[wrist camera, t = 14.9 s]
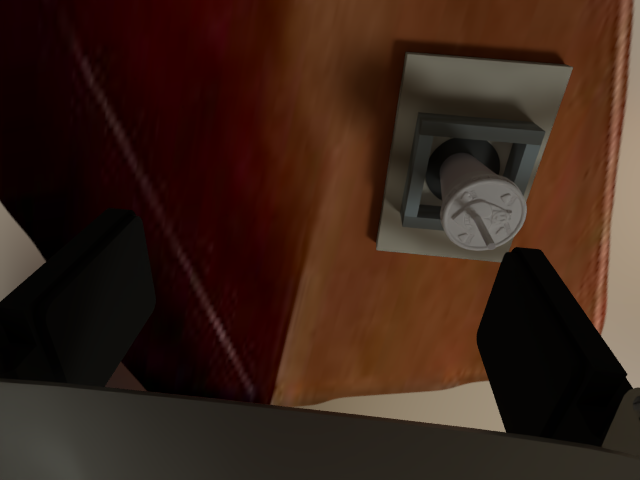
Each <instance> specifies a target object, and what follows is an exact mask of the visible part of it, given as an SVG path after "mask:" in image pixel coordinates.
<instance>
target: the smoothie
mask: <svg viewBox="0 0 640 480" xmlns="http://www.w3.org/2000/svg"><path fill="white" fill-rule="evenodd" d="M440 182H441V193H442V206H441V211H440V219H441V224H442V227H443V229H444V231H445V233H446V235H447V236H448V238H449V239H450V240H451V241H452V242H453V243H455V244H456V245H458V246H460V247H462V248H464V249H468V250H474V251H482V250H493V249H495V248H496V247H498V246H501V245H503V244H504V243H506V242H508V241H509V240H510V239H512V238H513V237H514V236H515V235H516V234H517V233H518V231H519V230H520V229H521V227H522V225H523V223H524V221H525V218H526V212H527V207H526V201H525V199H524V196H523V195H522V193H521V191H520V189H519V188H518V187H517V185H516V184H515V183H514V182H512V181H511V180H509V179H508V178H506V177H503V176H500V175H497V174H495V173H494V172H493V171H491V170H490V169H489V168H487V167H486V166H485V165H484V164H482V163H481V162H480V161H478V160H477V159H476V158H475V157H473V156H472V155H470V154H467V153H456V154H453V155H451V156H449V157H448V158H447V159H446V160H445V161H444V162H443V164H442V165H441V168H440Z"/></svg>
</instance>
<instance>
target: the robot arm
mask: <svg viewBox="0 0 640 480" xmlns="http://www.w3.org/2000/svg"><path fill="white" fill-rule="evenodd" d="M155 302H156V297H155V291H154V286H153V280H152V274H151V268H150V263H149V257H148V251H147V245H146V240H145V234H144V228H143V223H142V219H141V218H140V217H139V216H136V214H135V213H134V212H133V211H132V210H124V209H114V208H108V209H107V210H105V211H104V212H103V213H102V214H101V215H100V216H98V217H97V218H96V219H95V220H94V221H93V222H91V223H90V224H89V225H88V226H87V227H86V228H85V229H83V230H82V231H81V232H80V233H79V234H78V235H77V236H75V237H74V238H73V239H72V240H71V241H70V242H69V243H67V244H66V245H65V246H64V247H63V248H62V249H60V250H59V251H58V252H57V253H56V254H55V255H54V256H52V257H51V258H50V259H49V260H48V261H47V262H46V263H44V264H43V265H42V266H41V267H40V268H39V269H38V270H36V271H35V272H34V273H33V274H32V275H31V276H29V277H28V278H27V279H26V280H25V281H24V282H23V283H21V284H20V285H19V286H18V287H17V288H16V289H14V290H13V291H12V292H11V293H10V294H9V295H8V296H6V297H5V298H4V299H3V300H2V301H1V302H0V480H640V388H635V389H633V388H632V386H631V385H630V383H629V382H628V380H627V379H626V376H627V373H626V371H625V370H624V369H623V367H622V366H621V364H620V363H619V361H618V360H617V359H616V357H615V356H614V354H613V353H612V351H611V350H610V348H609V347H608V346H607V344H606V343H605V341H604V340H603V338H602V337H601V335H600V334H599V333H598V331H597V330H596V328H595V327H594V325H593V324H592V322H591V321H590V320H589V318H588V317H587V315H586V314H585V312H584V311H583V310H582V308H581V307H580V305H579V304H578V302H577V301H576V299H575V298H574V297H573V295H572V294H571V292H570V291H569V289H568V288H567V287H566V285H565V284H564V282H563V281H562V279H561V278H560V276H559V275H558V274H557V272H556V271H555V269H554V268H553V266H552V265H551V264H550V262H549V261H548V259H547V258H546V256H545V255H544V253H543V252H542V251H541V250H539V249H530V248H520V247H515V248H514V249H513V250H512V251H511V252H506V253H505V254H504V256H503V259H502V262H501V265H500V267H499V270H498V273H497V276H496V279H495V282H494V285H493V288H492V291H491V294H490V296H489V299H488V302H487V305H486V308H485V311H484V314H483V317H482V320H481V322H480V325H479V328H478V332H477V345H478V349H479V352H480V355H481V358H482V361H483V364H484V367H485V370H486V373H487V376H488V379H489V382H490V385H491V388H492V391H493V394H494V397H495V400H496V403H497V406H498V409H499V412H500V415H501V418H502V421H503V424H504V427H505V430H506V433H505V432H497V431H489V430H482V429H475V428H466V427H458V426H448V425H441V424H432V423H424V422H415V421H406V420H398V419H390V418H381V417H372V416H364V415H356V414H346V413H338V412H329V411H320V410H312V409H303V408H294V407H285V406H276V405H267V404H258V403H249V402H240V401H231V400H222V399H213V398H203V397H194V396H185V395H175V394H166V393H156V392H147V391H137V390H128V389H119V388H109V387H105V385H106V383H107V382H108V380H109V379H110V377H111V376H112V374H113V373H114V371H115V370H116V368H117V366H118V365H119V363H120V362H121V360H122V359H123V357H124V356H125V354H126V352H127V351H128V349H129V348H130V346H131V345H132V343H133V342H134V340H135V338H136V337H137V335H138V334H139V332H140V331H141V329H142V328H143V326H144V324H145V323H146V321H147V320H148V318H149V317H150V315H151V314H152V312H153V310H154V307H155Z"/></svg>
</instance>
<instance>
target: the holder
mask: <svg viewBox="0 0 640 480" xmlns="http://www.w3.org/2000/svg"><path fill="white" fill-rule="evenodd" d="M572 69H573V67H571V66H568V65H564V64H552V63H539V62H527V61H515V60H502V59H490V58H477V57H465V56H452V55H440V54H427V53H415V52H406V54H405V61H404V67H403V74H402V80H401V86H400V93H399V99H398V106H397V112H396V118H395V125H394V131H393V138H392V144H391V151H390V157H389V163H388V170H387V176H386V183H385V189H384V195H383V202H382V208H381V215H380V221H379V228H378V234H377V240H376V250H381V251H391V252H402V253H412V254H422V255H432V256H443V257H453V258H463V259H473V260H484V261H494V262H502V259H503V256H504V254H505V253H506V252H509V249H510V246H511V243H512V240H513V238H512V239H510V240H509V241H508V242H506V243H504V244H503V245H501V246H498V247H496V248H495V249H493V250H482V251H474V250H468V249H464V248H462V247H460V246H458V245H456V244H455V243H453V242H452V241H451V240H450V239H449V238H448V236H447V235H446V233H445V231H444V229H443V227H442V224H441V219H440V211H441V206H442V193H441V182H440V168H441V165H442V164H443V162H444V161H445V160H446V159H447V158H448V157H449V156H451V155H453V154H456V153H467V154H470V155H472V156H473V157H475V158H476V159H477V160H478V161H480V162H481V163H482V164H484V165H485V166H486V167H487V168H489V169H490V170H491V171H493V172H494V173H495V174H497V175H500V176H503V177H506V178H508V179H509V180H511V181H512V182H514V183H515V184H516V185H517V187H518V188H519V189H520V191H521V193H522V195H523V196H524V199H525V201H526V200H527V197H528V195H529V192H530V189H531V186H532V183H533V180H534V178H535V175H536V172H537V169H538V166H539V163H540V160H541V158H542V155H543V152H544V149H545V146H546V143H547V140H548V138H549V135H550V132H551V129H552V126H553V123H554V120H555V118H556V115H557V112H558V109H559V106H560V103H561V100H562V98H563V95H564V92H565V89H566V86H567V83H568V80H569V78H570V75H571V72H572Z"/></svg>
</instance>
